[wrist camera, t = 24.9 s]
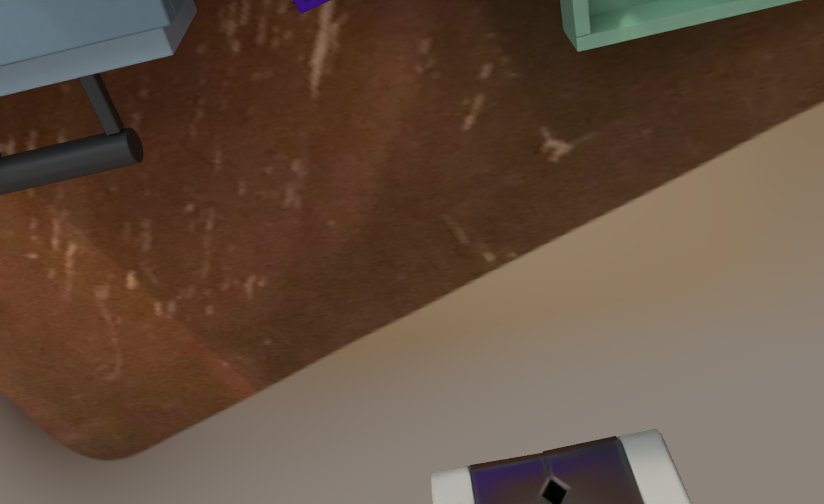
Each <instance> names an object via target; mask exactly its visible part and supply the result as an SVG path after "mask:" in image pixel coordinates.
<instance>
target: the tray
mask: <svg viewBox="0 0 824 504" xmlns="http://www.w3.org/2000/svg"><path fill="white" fill-rule="evenodd" d="M796 1H801V0H560V5H561V14H562V23H563V30H564V32H565V33H566V35H567V37H568V38H569V40H570V41H571V43H572V44H573V45H574V47H575V48H576V50H577V51H578V52H580V51H584V50H589V49H593V48H597V47H602V46H606V45H610V44H615V43H619V42H623V41H628V40H632V39H636V38H641V37H645V36H649V35H654V34H658V33H662V32H667V31H671V30H675V29H680V28H684V27H688V26H693V25H697V24H701V23H705V22H710V21H714V20H718V19H723V18H727V17H731V16H736V15H740V14H744V13H749V12H753V11H757V10H762V9H766V8H770V7H775V6H779V5H783V4H788V3H792V2H796Z"/></svg>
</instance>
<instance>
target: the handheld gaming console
mask: <svg viewBox="0 0 824 504" xmlns="http://www.w3.org/2000/svg"><path fill="white" fill-rule="evenodd" d="M292 1H293V3H294V4H296V6H297V8H298V10H299V12H300V13H301V14H302V13H304V12H306V11H309V10H311V9H313V8H315V7H317V6H319V5H321V4H323V3H326V2H328V1H330V0H292Z"/></svg>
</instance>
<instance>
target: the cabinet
mask: <svg viewBox="0 0 824 504" xmlns="http://www.w3.org/2000/svg"><path fill="white" fill-rule="evenodd" d="M185 1H186V0H0V67H2V66H6V65H10V64H14V63H18V62H22V61H26V60H31V59H35V58H39V57H43V56H47V55H51V54H55V53H59V52H64V51H68V50H72V49H76V48H80V47H84V46H88V45H92V44H97V43H101V42H105V41H109V40H113V39H117V38H121V37H125V36H130V35H134V34H138V33H142V32H146V31H150V30H154V29H159V28H163V27H167V26H170V25H171V24H172V22H173V21H174V19H175V17H176V16H177V14H178V13H179V11H180V9H181V8H182V6H183V4H184V3H185Z"/></svg>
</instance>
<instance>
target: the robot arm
mask: <svg viewBox="0 0 824 504" xmlns="http://www.w3.org/2000/svg"><path fill="white" fill-rule="evenodd" d="M431 487H432V497H433V504H692V502H691V500H690V498H689V496H688V493H687V491H686V489H685V487H684V484H683V482H682V480H681V477H680V475H679V473H678V471H677V468H676V466H675V464H674V461H673V459H672V457H671V455H670V452H669V450H668V448H667V445H666V443H665V441H664V439H663V437H662V434H661V433H659V431H658V430H657V429H653V430H648V431H643V432H638V433H633V434H627V435H623V436H618V438H617V437H616V436H614V437H609V438H604V439H600V440H595V441H590V442H585V443H581V444H576V445H571V446H566V447H561V448H557V449H552V450H547V451H543V453H539V454H533V455H527V456H522V457H515V458H510V459H504V460H498V461H492V462H486V463H480V464H474V465H470V466H464V467H459V468H454V469H448V470H442V471H438V472H433V473H432V480H431Z"/></svg>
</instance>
